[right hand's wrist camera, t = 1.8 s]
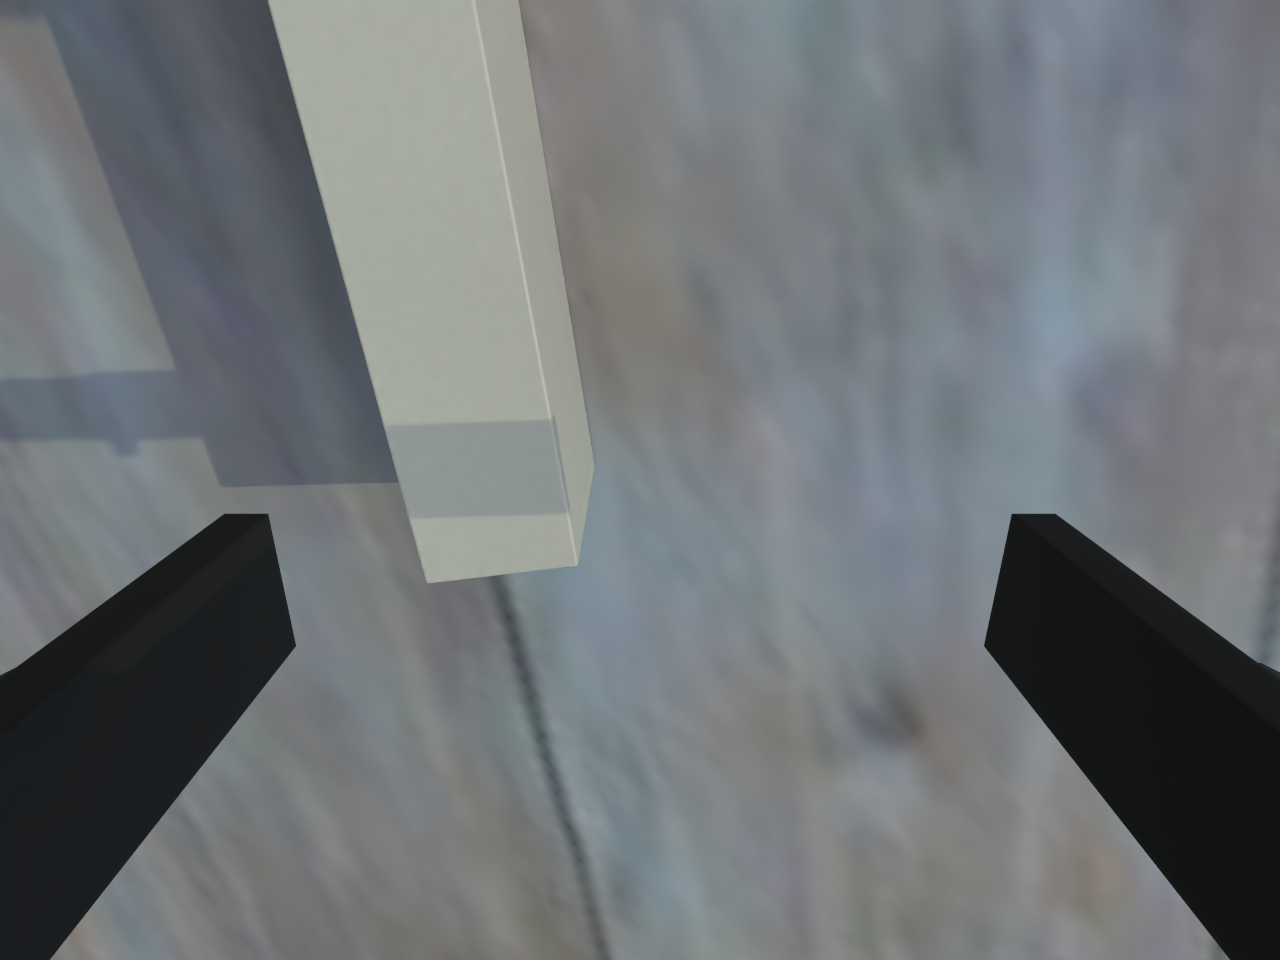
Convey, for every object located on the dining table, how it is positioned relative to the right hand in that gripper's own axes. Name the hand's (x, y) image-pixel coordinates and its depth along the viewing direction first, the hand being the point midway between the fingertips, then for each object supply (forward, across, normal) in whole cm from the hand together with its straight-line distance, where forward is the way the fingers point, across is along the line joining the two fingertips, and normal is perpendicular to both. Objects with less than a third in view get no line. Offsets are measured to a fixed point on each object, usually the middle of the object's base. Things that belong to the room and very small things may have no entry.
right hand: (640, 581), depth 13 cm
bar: (+15, +8, -25) cm, 30 cm away
